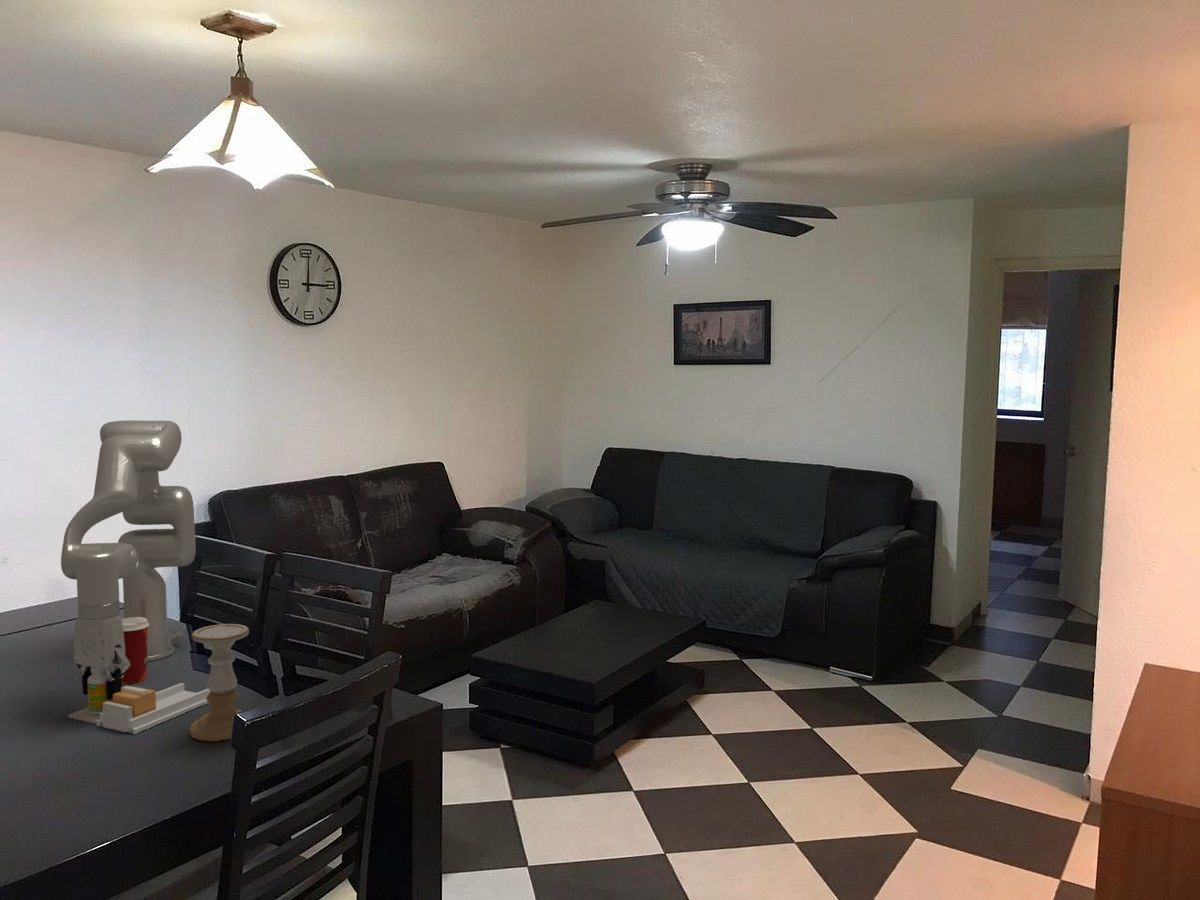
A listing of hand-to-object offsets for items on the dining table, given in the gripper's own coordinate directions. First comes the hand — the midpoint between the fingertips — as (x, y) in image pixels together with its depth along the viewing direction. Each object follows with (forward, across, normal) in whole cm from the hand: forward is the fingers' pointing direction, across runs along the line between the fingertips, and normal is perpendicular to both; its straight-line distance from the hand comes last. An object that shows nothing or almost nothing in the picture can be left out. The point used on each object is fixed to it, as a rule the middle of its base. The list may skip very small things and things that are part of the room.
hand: (102, 694), depth 190 cm
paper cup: (+4, -12, +17) cm, 21 cm away
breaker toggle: (+3, +10, -1) cm, 10 cm away
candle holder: (+4, +29, +4) cm, 30 cm away
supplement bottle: (+4, 0, 0) cm, 4 cm away
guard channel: (+4, +10, +5) cm, 12 cm away
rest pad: (+4, 0, 0) cm, 4 cm away
